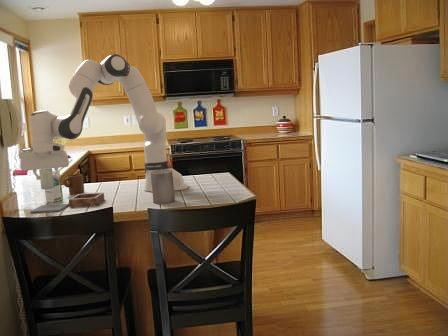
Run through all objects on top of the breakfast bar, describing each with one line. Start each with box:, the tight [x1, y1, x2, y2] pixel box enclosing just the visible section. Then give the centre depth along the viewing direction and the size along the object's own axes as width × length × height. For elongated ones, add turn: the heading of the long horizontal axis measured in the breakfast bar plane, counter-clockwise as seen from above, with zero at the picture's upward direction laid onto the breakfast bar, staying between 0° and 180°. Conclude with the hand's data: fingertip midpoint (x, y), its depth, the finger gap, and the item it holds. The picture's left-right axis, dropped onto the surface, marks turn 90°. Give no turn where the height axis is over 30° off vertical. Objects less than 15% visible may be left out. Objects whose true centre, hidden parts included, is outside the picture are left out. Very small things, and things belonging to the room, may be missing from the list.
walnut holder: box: [68, 192, 105, 208], centre depth 228 cm, size 12×12×4 cm
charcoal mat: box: [29, 203, 70, 214], centre depth 221 cm, size 13×12×1 cm
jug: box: [38, 168, 54, 190], centre depth 218 cm, size 7×5×8 cm
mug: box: [62, 173, 85, 195], centre depth 255 cm, size 12×8×9 cm, turn 153°
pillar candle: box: [151, 169, 176, 205], centre depth 220 cm, size 10×10×15 cm
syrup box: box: [44, 170, 64, 203], centre depth 239 cm, size 6×6×14 cm
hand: (46, 178), depth 219 cm, fingers closed on jug, 5 cm apart
